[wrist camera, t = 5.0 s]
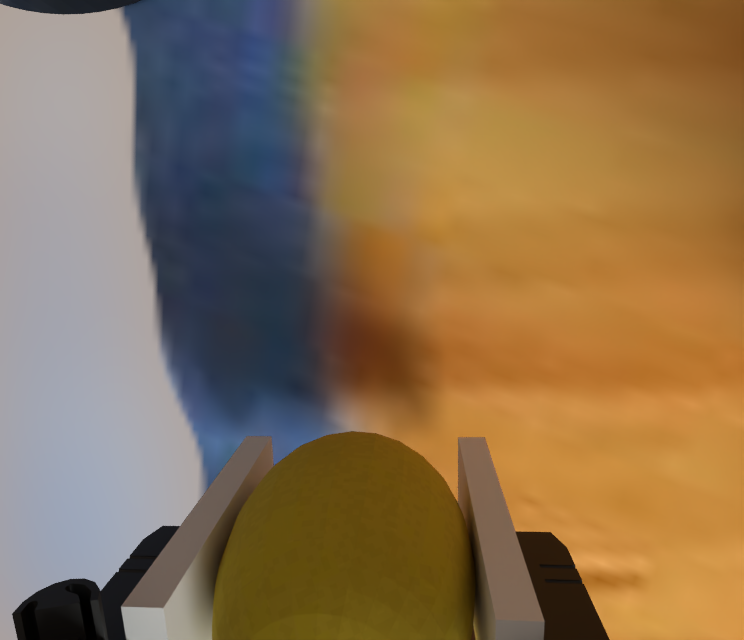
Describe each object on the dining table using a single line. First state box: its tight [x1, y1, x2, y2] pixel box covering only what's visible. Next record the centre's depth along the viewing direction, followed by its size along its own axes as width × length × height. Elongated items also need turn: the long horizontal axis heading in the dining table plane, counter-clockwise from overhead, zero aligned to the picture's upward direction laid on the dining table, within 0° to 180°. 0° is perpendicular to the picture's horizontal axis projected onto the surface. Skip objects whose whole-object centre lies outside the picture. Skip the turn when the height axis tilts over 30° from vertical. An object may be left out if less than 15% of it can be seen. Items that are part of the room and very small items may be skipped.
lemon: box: [212, 431, 476, 640], centre depth 11 cm, size 6×6×8 cm
